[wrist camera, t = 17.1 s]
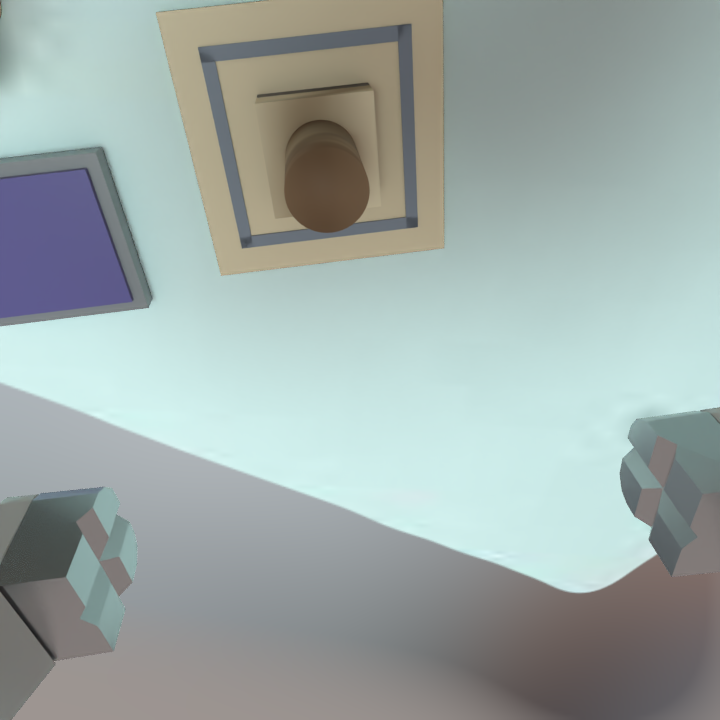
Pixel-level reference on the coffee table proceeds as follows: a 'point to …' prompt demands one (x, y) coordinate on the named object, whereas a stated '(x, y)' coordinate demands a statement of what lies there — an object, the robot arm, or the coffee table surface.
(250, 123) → the card sheet
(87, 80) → the coffee table surface
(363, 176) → the stamp
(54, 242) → the ink pad
